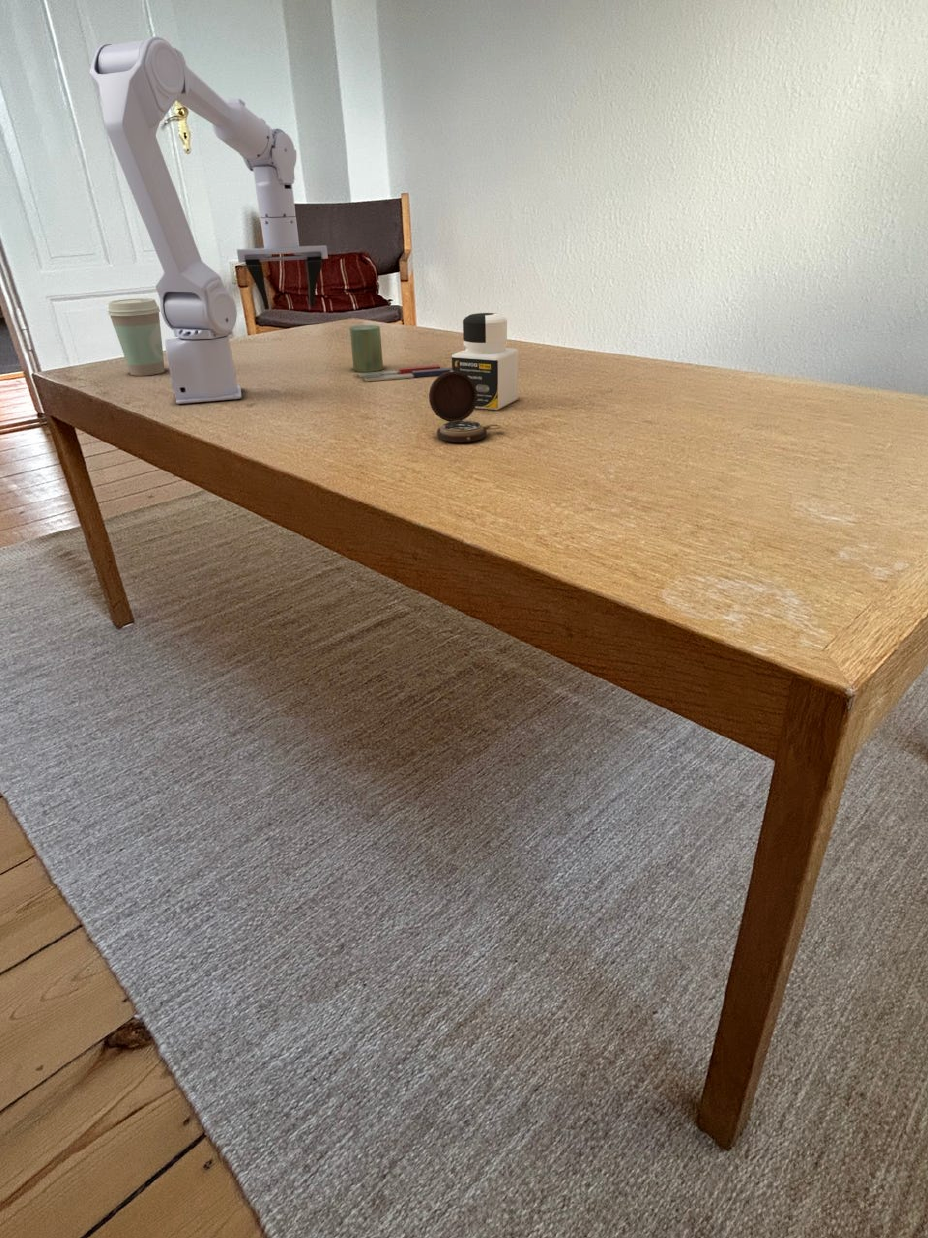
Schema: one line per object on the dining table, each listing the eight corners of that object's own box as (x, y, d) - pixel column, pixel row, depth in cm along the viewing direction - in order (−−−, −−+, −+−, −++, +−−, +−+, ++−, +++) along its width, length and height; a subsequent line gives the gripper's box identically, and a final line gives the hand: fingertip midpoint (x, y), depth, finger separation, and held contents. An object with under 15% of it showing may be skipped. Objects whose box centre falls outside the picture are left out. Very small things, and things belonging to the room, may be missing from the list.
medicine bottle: (452, 406, 107) (449, 316, 101) (475, 395, 112) (473, 309, 106) (497, 411, 104) (497, 318, 98) (518, 399, 109) (519, 311, 103)
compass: (444, 446, 90) (441, 383, 86) (429, 429, 96) (427, 371, 93) (508, 439, 91) (508, 378, 88) (489, 424, 98) (488, 366, 95)
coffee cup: (162, 376, 131) (146, 302, 125) (114, 377, 131) (96, 304, 126) (179, 367, 139) (165, 297, 133) (134, 368, 139) (117, 298, 133)
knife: (366, 381, 123) (365, 376, 123) (364, 379, 125) (364, 374, 124) (454, 374, 127) (454, 369, 126) (451, 372, 128) (451, 367, 128)
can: (355, 372, 130) (351, 330, 126) (351, 367, 134) (347, 325, 131) (385, 370, 131) (382, 328, 127) (380, 365, 135) (377, 324, 132)
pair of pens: (360, 377, 126) (359, 372, 126) (358, 375, 128) (358, 370, 127) (440, 371, 129) (440, 366, 129) (438, 369, 131) (438, 364, 130)
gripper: (320, 215, 126) (329, 302, 133) (231, 218, 123) (245, 307, 130) (324, 215, 120) (334, 306, 127) (231, 218, 117) (246, 312, 124)
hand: (289, 307), depth 128 cm, fingers open, 7 cm apart
